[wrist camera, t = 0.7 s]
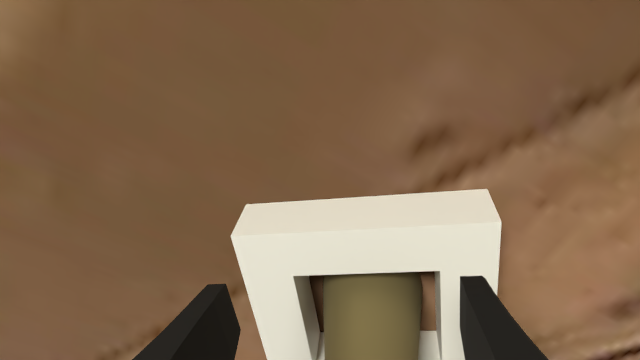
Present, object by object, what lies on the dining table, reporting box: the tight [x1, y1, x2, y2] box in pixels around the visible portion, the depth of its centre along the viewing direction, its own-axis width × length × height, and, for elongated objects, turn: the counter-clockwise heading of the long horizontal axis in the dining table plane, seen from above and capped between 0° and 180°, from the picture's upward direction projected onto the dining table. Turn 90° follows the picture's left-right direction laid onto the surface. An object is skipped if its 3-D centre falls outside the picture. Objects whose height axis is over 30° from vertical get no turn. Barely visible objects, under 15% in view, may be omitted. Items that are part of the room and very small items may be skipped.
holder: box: [231, 189, 501, 360], centre depth 25 cm, size 13×13×3 cm
